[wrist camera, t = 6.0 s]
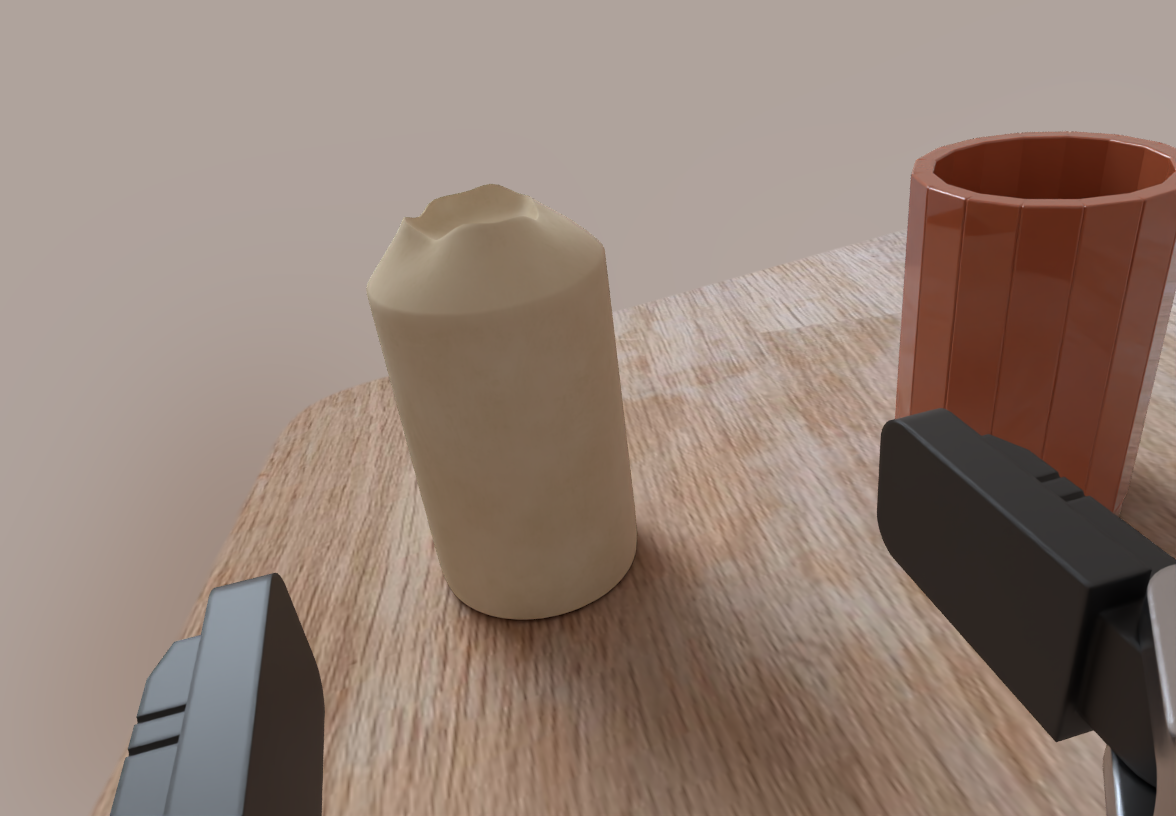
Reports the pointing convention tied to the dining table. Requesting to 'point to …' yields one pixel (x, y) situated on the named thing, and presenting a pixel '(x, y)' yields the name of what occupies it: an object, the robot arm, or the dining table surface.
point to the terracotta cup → (1042, 294)
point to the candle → (509, 400)
